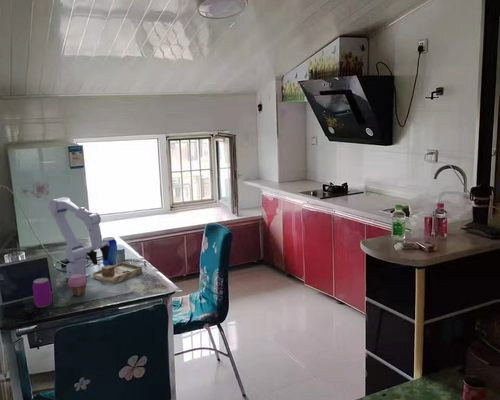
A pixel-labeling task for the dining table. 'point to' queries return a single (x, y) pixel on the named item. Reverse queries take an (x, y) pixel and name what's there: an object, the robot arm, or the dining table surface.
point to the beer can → (111, 251)
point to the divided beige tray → (119, 272)
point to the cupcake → (78, 284)
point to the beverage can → (42, 292)
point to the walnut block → (108, 271)
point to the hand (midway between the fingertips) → (100, 262)
